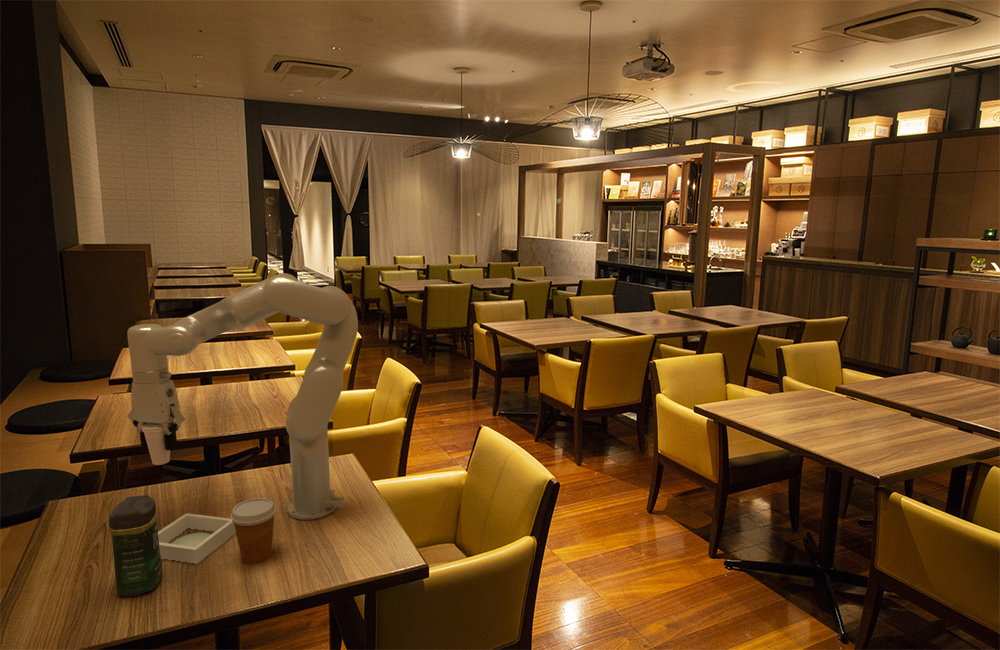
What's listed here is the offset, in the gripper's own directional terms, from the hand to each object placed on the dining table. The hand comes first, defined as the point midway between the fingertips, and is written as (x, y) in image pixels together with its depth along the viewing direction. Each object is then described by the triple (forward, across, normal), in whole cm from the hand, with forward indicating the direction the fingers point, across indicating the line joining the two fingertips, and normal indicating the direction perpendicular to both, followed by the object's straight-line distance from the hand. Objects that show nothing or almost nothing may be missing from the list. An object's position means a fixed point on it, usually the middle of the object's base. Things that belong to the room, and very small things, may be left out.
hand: (159, 446), depth 145 cm
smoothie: (+4, 0, 0) cm, 4 cm away
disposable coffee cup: (+22, -29, +6) cm, 37 cm away
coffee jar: (+21, -12, +21) cm, 33 cm away
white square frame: (+21, -11, +6) cm, 25 cm away
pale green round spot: (+21, -11, +6) cm, 25 cm away
